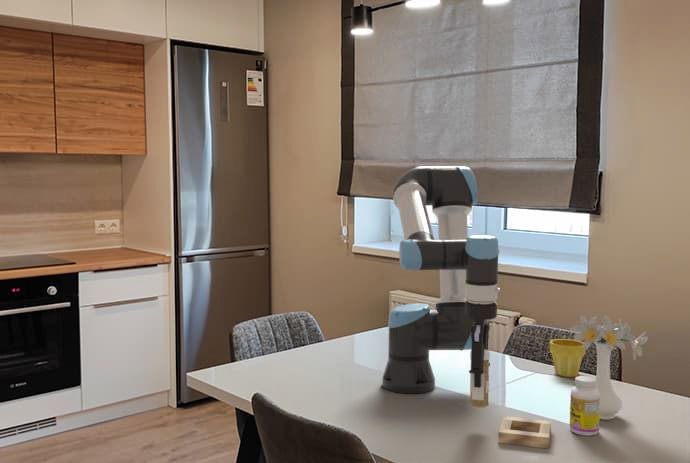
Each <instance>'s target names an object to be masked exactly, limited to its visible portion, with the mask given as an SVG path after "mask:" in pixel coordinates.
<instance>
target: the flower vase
mask: <svg viewBox="0 0 690 463" xmlns="http://www.w3.org/2000/svg"><path fill="white" fill-rule="evenodd" d="M597 320H598V317H597V316H593V317H591V318H590V319H589V321H588V318H587V317H586V316H585V315H580V317H579V325H573V326H571V327H570V328H569V330H570V331H571V332H574V333H575V332H578V333H576V334H575V335H574V336H573V340H576V341H581V342H583V341H584V342H583V348H584V349H585V351H586V350H588V349H589V348H590V346H591V344H592V342H594V344H595V348H596V355H597V358H596V359H597V363H596V375H595V379H596V386H595V389H597V390H598V391H599V393H600V416H599V420H604V421H608V420H609V421H610V420H613V419H615V417H616V414H618V413H619V412H620V411H622V408H623V401H622V399H621V397H620V396H619V395H618V393H617V392H616V391H615V390H614V388H613V385H612V382H611V364H610V363H611V353H612V351H613V350H614V349H615V346H616V347H617V348H618V349H620V350H627V347H626V345H625V343H624V342H627V343H629V344H630V346H631V348H632V356H633V361H636V358H637V356H639V357H642V356H643V348H642V346H643V345H645V343H646V342H647V341H648V339H649V336H646V331H644V332H643V333H642V334H640V335H639V336H638V337H637V338H636V337H635V335H633V334H630V332H631V326H630V324H629V323H628V322H626V323H625V324H624V322H623V320H622V319H621V318H619V323H615V324H613V323H612V320H611V318H610V317H609V316H607V315H605V316H604V317H603V325H601V324H599V321H597Z"/></svg>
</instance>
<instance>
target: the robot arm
mask: <svg viewBox="0 0 690 463" xmlns="http://www.w3.org/2000/svg"><path fill="white" fill-rule="evenodd" d="M477 186H478V185H477V181H476V176H475V174H474V172H473V170H472V169H471V168H470V167H467V166H457V165H454V166H453V165H451V166H448V165H447V166H416V167H414V168H411V169H409V170H408V171H406V172H404V173H402V175H401V176H400V177H399V178H398V179H397V181H396V182H395V184H394V187H393V190H392V199H393V204H394V205H395V207H396V209H398V211H399V212H398V213H399V218H400V222H401V227H402V233H403V238H404V239H403V240H401V241H400V242H399V249H398V251H399V252H398V254H399V255H398V259H399V266H400V268H401V269H403V270H410V271H431V270H433V271H434V270H439V281H440V282H439V288H440V292H439V293H440V297H439V298H438V300H437V301H436V302H435V308H432V309H431V307H430V305H429V304H427V303H407V304H404V305H403V304H402V305H398V306H395V307H393V308H391V310H390V312H389V313H388V324H387V327H388V354H387V355H388V358H387V363H386V366H385V369H384V371H383V374H382V380H381V381H382V382H381V386H382V387H383V388H384V389H385V390H388V391H389V392H390V391H391V392H395V393H399V394H421V393H427V392H430V391H432V390H434V389H435V388H436V378H435V376H434V371H433V368H432V366H431V362H430V351H466V350H467V351H468V350H469V351H471V350H472V354H471V358H470V370H468V373H469V374H471V373H472V399H474V400H484V371H483V366H484V349H486V350H488V351H489V339H490V330H491V325H490V320H494V319H496V318H497V317H498V303H497V299H498V293H499V292H500V291H501V289H500V287H497V286H498V279H499V278H498V277H499V276H498V275H499V274H498V273H499V272H498V271H499V254H500V249H499V240H498V238H497V237H496V236H494V235H492V236H491V235H488V234H487V235H486V234H484V235H482V234H479V235H477V234H476V235H470V236H469V233H468V231H469V230H468V215H469V214H471V213H472V211H473V206H475V205H476V204H477V202H478V187H477ZM427 206H431V208H432V209H431V210H432V213H433V214H434V215H435V216H436V217H437V226H438V227H437V228H438V230H437V231H438V232H437V233H438V239H435V237H434V233H433V229H432V224H431V222H430V219H429V218H430V217H429V213H428V210H427ZM490 366H491V362H489V367H490Z"/></svg>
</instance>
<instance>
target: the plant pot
mask: <svg viewBox="0 0 690 463" xmlns="http://www.w3.org/2000/svg"><path fill="white" fill-rule="evenodd" d="M583 343H584V342H583V341H576V340H574V339H569V338H556V339H551V340H550V341H549V352H550V353H551V355H552V356H551V357H552V361H553V366H554V373H555V375H558V376H560V377H566V378H576V377H578V376H579V372H580V368H581V364H582V360H583V357H584V356H585V355H586V350H585V349H584V348H583Z"/></svg>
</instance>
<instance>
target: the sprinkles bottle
mask: <svg viewBox="0 0 690 463" xmlns="http://www.w3.org/2000/svg"><path fill="white" fill-rule="evenodd" d="M471 354H472V349H471V350H470V358H469V359H471ZM490 355H491V354H490V350H489V349H488V350H486V349H484V366H483V371H484V400H474V399H472V373H470V388H469V389H470V400H469V405H471V406H472V407H475V408H486V407H488V406H489V404H490V403H489V392H490V389H489V387H490V380H489V378H490V375H489V374H490V373H489V372H490V371H489V367H490V366H489V363H490V358H491V356H490Z"/></svg>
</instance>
